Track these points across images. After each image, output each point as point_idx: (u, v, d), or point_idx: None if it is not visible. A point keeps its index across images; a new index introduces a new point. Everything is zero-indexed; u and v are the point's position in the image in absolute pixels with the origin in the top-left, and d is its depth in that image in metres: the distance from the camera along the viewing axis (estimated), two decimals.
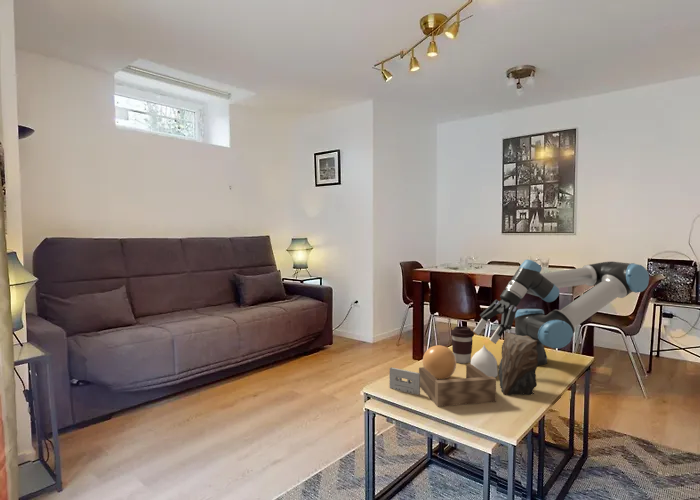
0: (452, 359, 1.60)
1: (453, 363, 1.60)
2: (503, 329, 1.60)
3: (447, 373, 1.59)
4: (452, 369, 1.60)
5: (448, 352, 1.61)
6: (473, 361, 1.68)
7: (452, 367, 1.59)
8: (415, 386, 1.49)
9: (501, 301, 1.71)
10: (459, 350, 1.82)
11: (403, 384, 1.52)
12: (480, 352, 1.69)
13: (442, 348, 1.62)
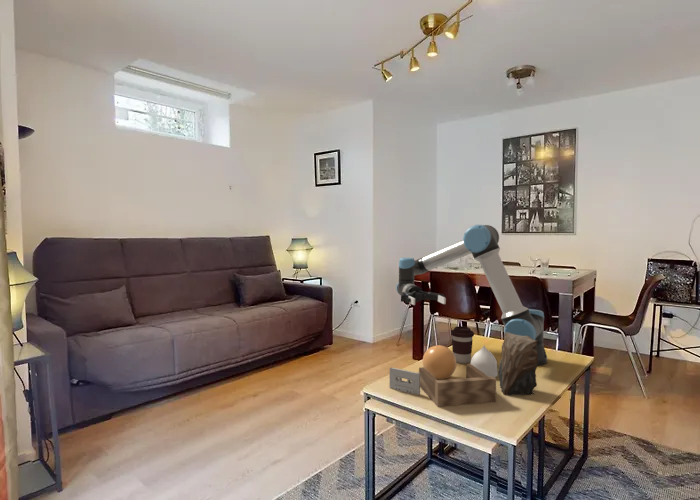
0: (452, 359, 1.60)
1: (453, 363, 1.60)
2: (405, 299, 1.80)
3: (447, 373, 1.59)
4: (452, 369, 1.60)
5: (448, 352, 1.61)
6: (473, 361, 1.68)
7: (452, 367, 1.59)
8: (415, 386, 1.49)
9: None
10: (459, 350, 1.82)
11: (403, 384, 1.52)
12: (480, 352, 1.69)
13: (442, 348, 1.62)
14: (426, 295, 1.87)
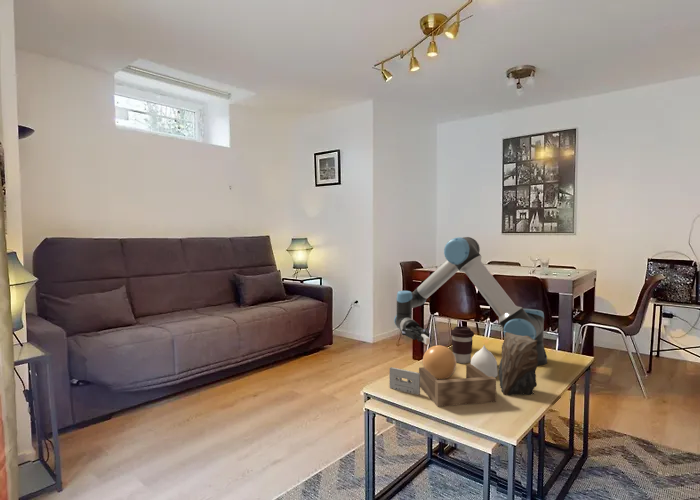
0: (452, 359, 1.60)
1: (453, 363, 1.60)
2: (418, 337, 1.81)
3: (447, 373, 1.59)
4: (452, 369, 1.60)
5: (448, 352, 1.61)
6: (473, 361, 1.68)
7: (452, 367, 1.59)
8: (415, 386, 1.49)
9: None
10: (459, 350, 1.82)
11: (403, 384, 1.52)
12: (480, 352, 1.69)
13: (442, 348, 1.62)
14: (418, 332, 1.88)
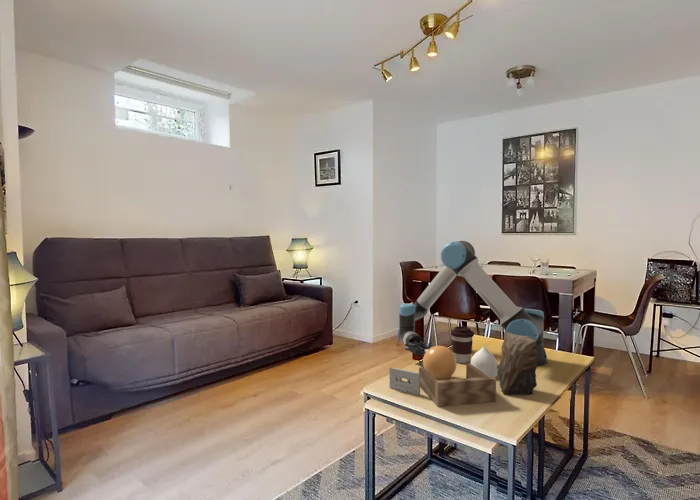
0: (452, 361, 1.59)
1: (453, 364, 1.60)
2: (422, 353, 1.76)
3: (447, 374, 1.59)
4: (452, 370, 1.59)
5: (448, 353, 1.60)
6: (473, 361, 1.68)
7: (452, 368, 1.59)
8: (415, 386, 1.49)
9: None
10: (459, 350, 1.82)
11: (403, 384, 1.52)
12: (480, 352, 1.69)
13: (442, 349, 1.62)
14: (422, 346, 1.84)
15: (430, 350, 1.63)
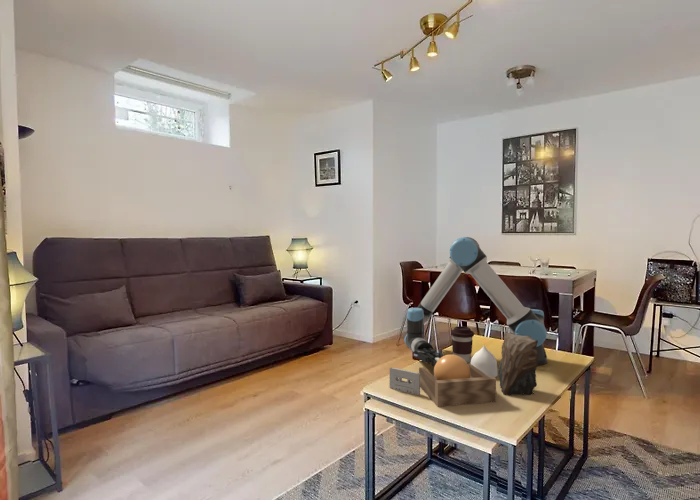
0: None
1: None
2: (432, 361, 1.65)
3: None
4: None
5: None
6: (473, 361, 1.68)
7: None
8: (415, 386, 1.49)
9: None
10: (459, 350, 1.82)
11: (403, 384, 1.52)
12: (480, 352, 1.69)
13: (460, 376, 1.47)
14: (432, 354, 1.73)
15: (446, 371, 1.48)
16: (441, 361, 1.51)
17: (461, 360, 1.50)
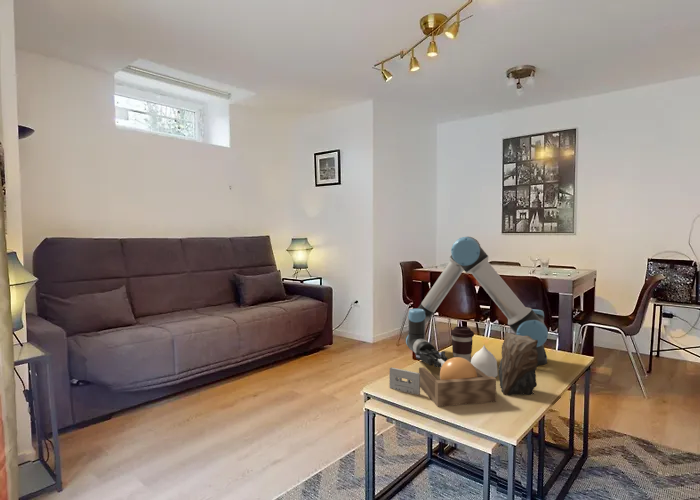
0: None
1: None
2: (435, 363, 1.63)
3: None
4: None
5: None
6: (473, 361, 1.68)
7: None
8: (415, 386, 1.49)
9: None
10: (459, 350, 1.82)
11: (403, 384, 1.52)
12: (480, 352, 1.69)
13: None
14: (434, 355, 1.71)
15: None
16: (451, 367, 1.46)
17: (472, 371, 1.45)
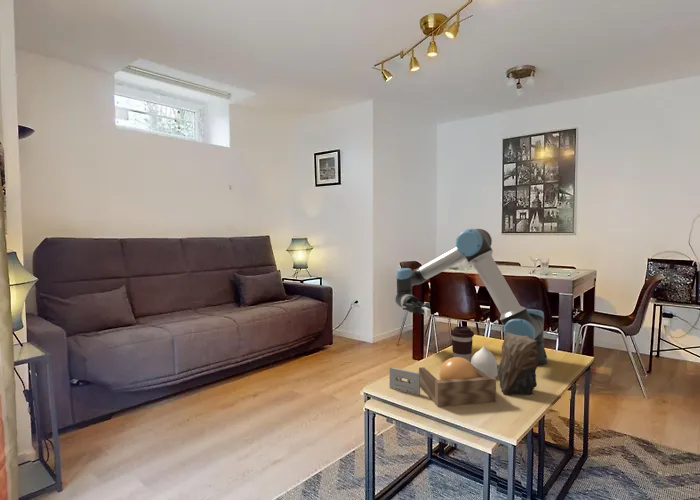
0: None
1: None
2: (419, 310, 1.80)
3: None
4: None
5: None
6: (473, 361, 1.68)
7: None
8: (415, 386, 1.49)
9: None
10: (459, 350, 1.82)
11: (403, 384, 1.52)
12: (480, 352, 1.69)
13: None
14: (419, 306, 1.88)
15: None
16: (451, 366, 1.46)
17: (471, 370, 1.45)
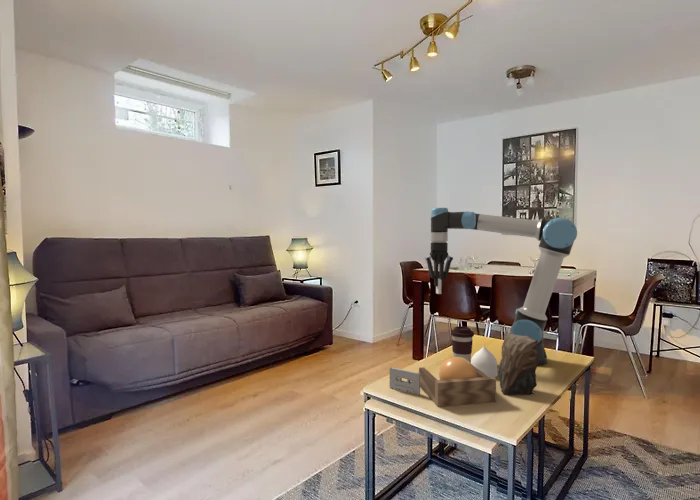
0: None
1: None
2: (434, 280, 1.90)
3: None
4: None
5: None
6: (473, 361, 1.68)
7: None
8: (415, 386, 1.49)
9: None
10: (459, 350, 1.82)
11: (403, 384, 1.52)
12: (480, 352, 1.69)
13: None
14: (440, 263, 1.89)
15: None
16: (450, 366, 1.46)
17: (471, 370, 1.45)
